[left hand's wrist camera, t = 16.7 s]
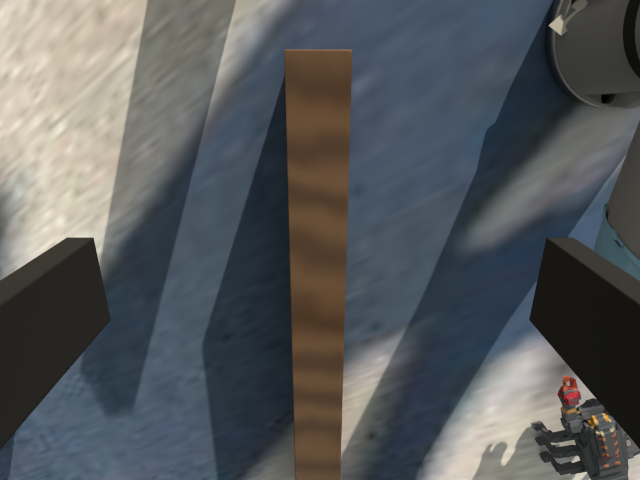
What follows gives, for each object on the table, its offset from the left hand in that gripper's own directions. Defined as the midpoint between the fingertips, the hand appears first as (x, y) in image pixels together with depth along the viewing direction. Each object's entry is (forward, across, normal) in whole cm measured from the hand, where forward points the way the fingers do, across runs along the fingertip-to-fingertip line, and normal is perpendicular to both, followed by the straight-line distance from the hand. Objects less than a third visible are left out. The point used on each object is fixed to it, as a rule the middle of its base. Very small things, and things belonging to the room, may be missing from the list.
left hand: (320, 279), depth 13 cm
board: (+34, 0, -21) cm, 40 cm away
